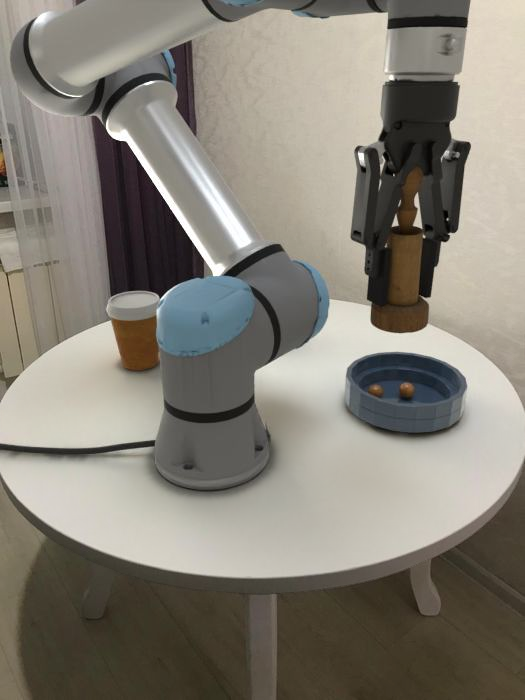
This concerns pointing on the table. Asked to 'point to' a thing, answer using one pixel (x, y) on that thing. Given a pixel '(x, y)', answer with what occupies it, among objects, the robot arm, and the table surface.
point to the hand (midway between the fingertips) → (398, 298)
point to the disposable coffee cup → (135, 328)
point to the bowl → (396, 411)
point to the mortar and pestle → (404, 268)
